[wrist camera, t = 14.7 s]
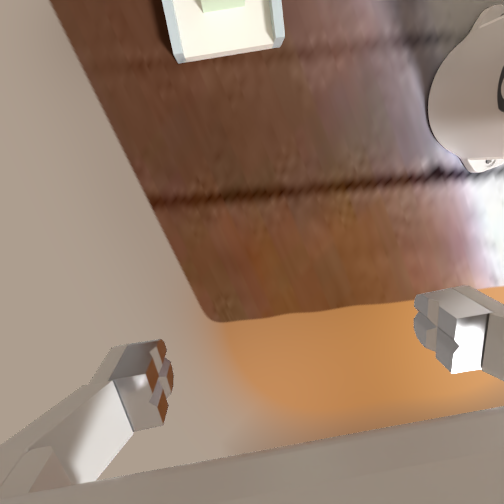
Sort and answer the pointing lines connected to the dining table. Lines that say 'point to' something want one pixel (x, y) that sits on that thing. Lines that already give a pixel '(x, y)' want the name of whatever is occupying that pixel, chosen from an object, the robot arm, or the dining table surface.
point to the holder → (222, 28)
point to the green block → (220, 4)
